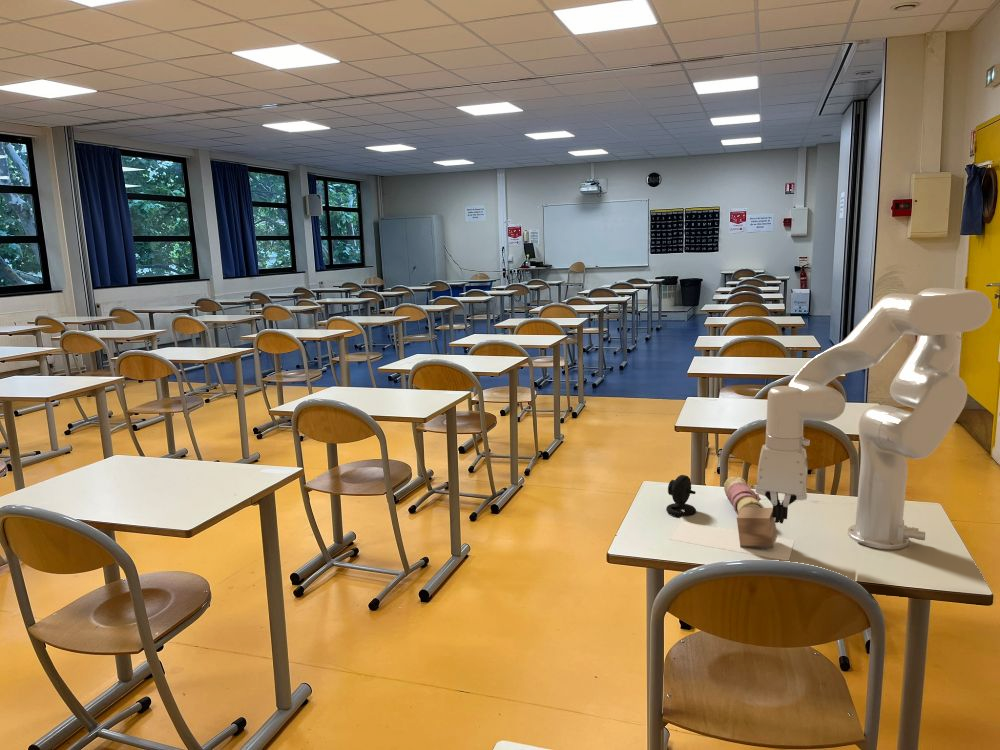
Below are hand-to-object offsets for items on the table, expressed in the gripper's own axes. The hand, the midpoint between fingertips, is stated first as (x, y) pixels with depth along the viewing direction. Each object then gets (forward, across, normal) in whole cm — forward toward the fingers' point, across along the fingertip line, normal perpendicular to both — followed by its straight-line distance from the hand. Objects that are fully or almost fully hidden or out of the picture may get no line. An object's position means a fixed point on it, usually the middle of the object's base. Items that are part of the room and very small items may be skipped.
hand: (779, 520), depth 159 cm
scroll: (+7, +10, -20) cm, 23 cm away
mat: (+7, +10, 0) cm, 12 cm away
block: (+6, +4, 0) cm, 7 cm away
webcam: (+7, +25, -13) cm, 29 cm away
